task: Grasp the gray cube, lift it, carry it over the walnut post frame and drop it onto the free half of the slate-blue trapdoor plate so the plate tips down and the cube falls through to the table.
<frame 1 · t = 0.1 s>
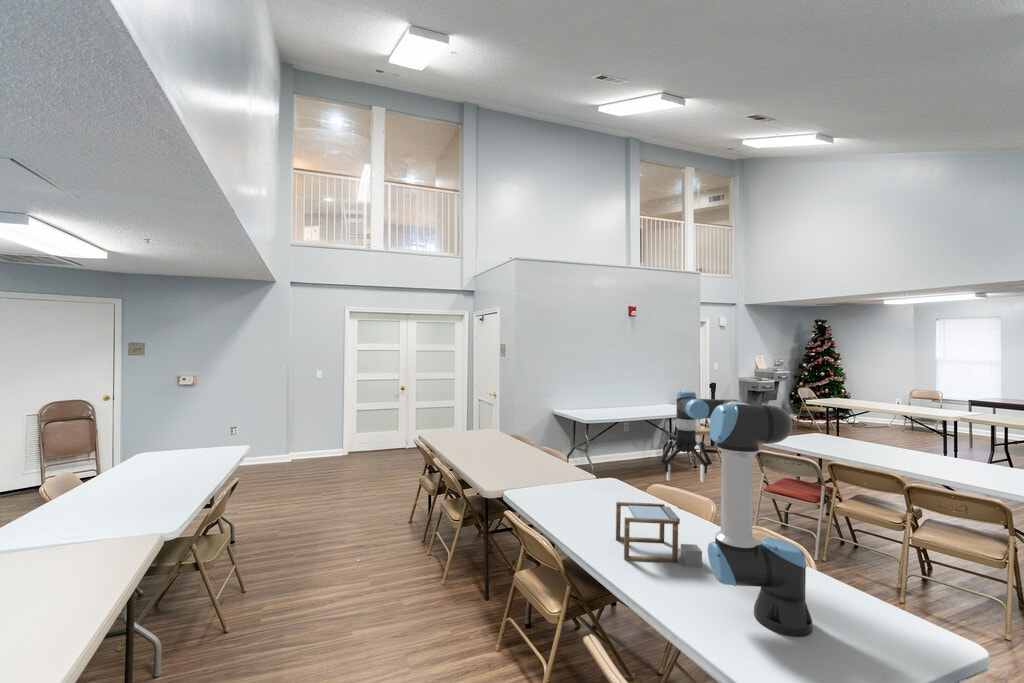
hand: (685, 480, 187), 28 cm above the table, fingers open, 13 cm apart
gray cube: (691, 563, 174), on the table
frame: (644, 550, 184), on the table
plate: (653, 514, 185), point 14 cm above the table, hinge at -0.1°
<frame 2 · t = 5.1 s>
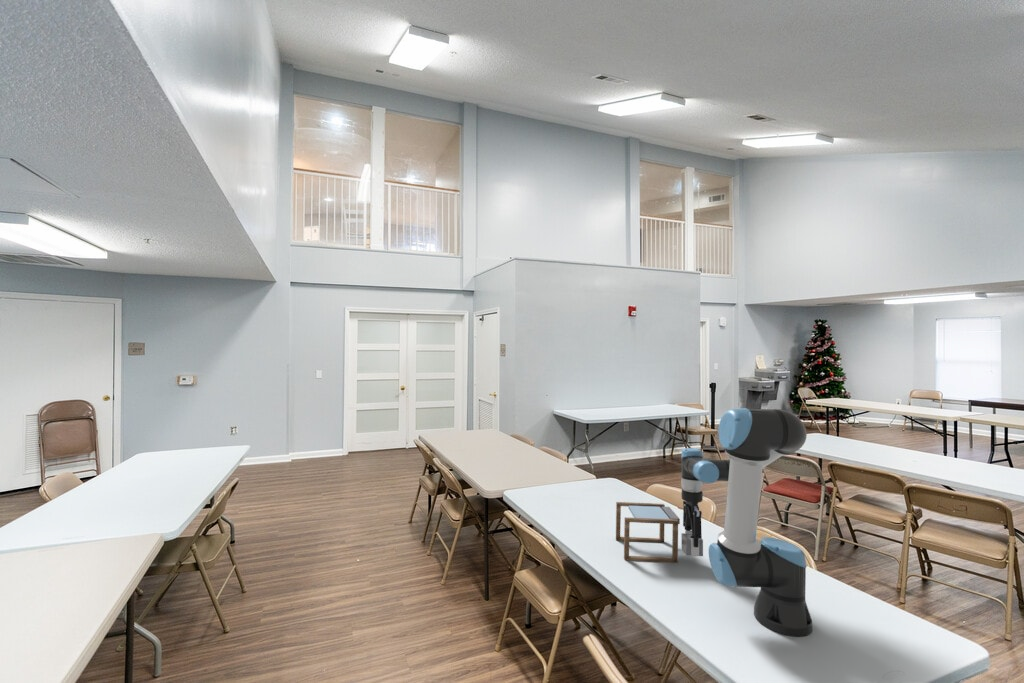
hand: (692, 551, 173), 5 cm above the table, fingers closed on gray cube, 6 cm apart
gray cube: (692, 552, 173), point 4 cm above the table, touching gripper
everything else where it was.
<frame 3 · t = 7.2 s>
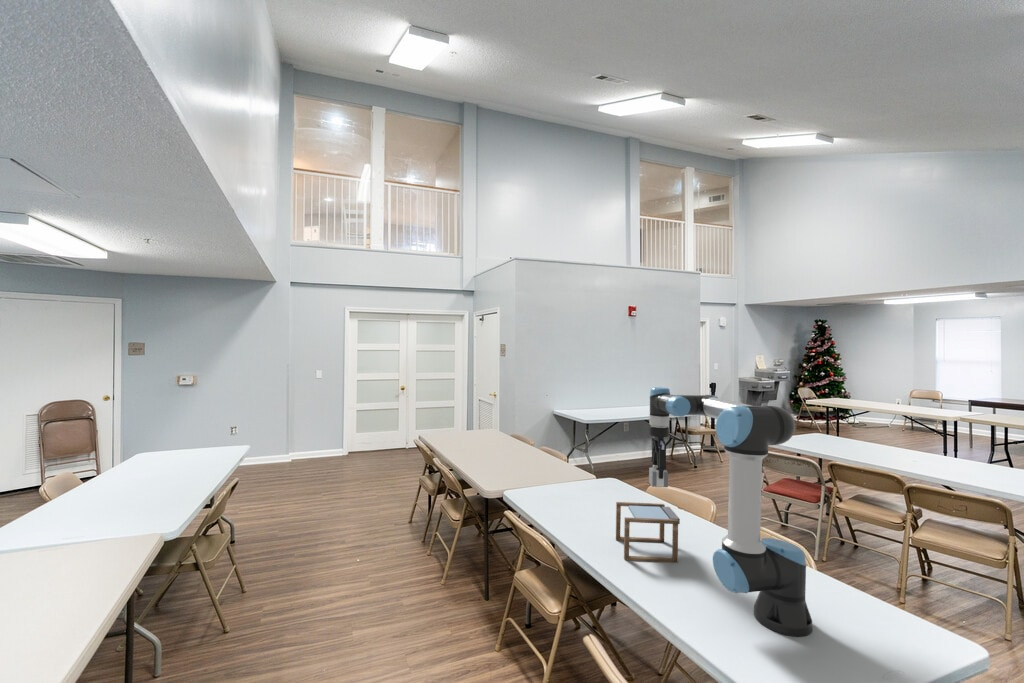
hand: (658, 483, 182), 28 cm above the table, fingers closed on gray cube, 6 cm apart
gray cube: (658, 484, 182), point 27 cm above the table, touching gripper
everything else where it was.
when the fingers open (16 cm above the table, at t = 9.5 s): gray cube drops 13 cm and tips over, point 3 cm above the table.
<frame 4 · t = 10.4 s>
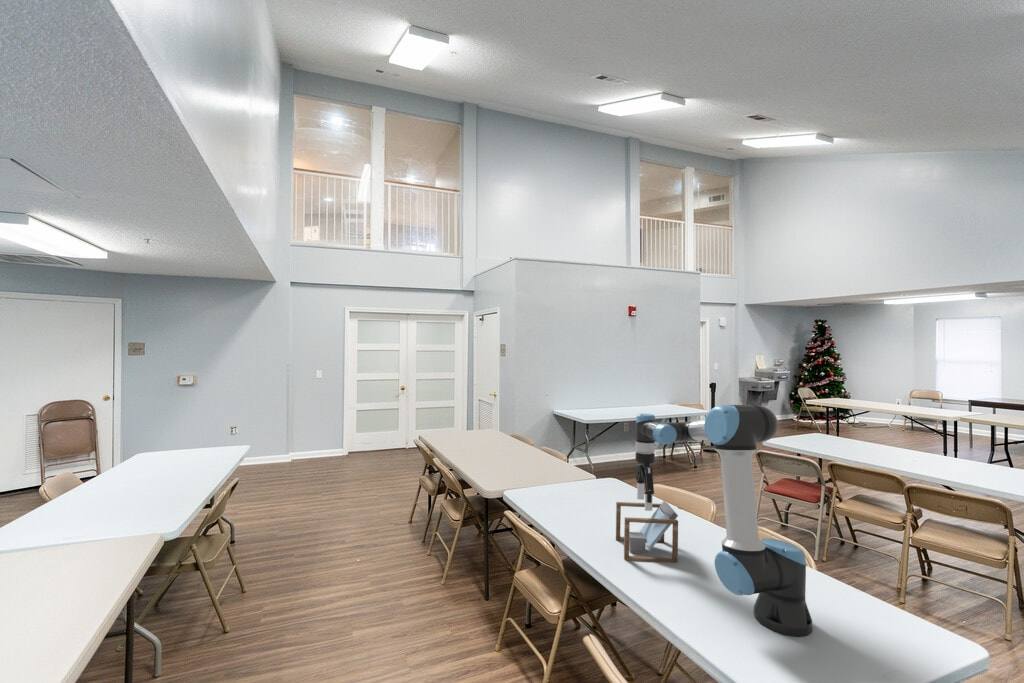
hand: (644, 504, 185), 18 cm above the table, fingers open, 13 cm apart
gray cube: (643, 542, 184), point 3 cm above the table, tilted 90°
plate: (657, 523, 184), point 11 cm above the table, hinge at -52.5°
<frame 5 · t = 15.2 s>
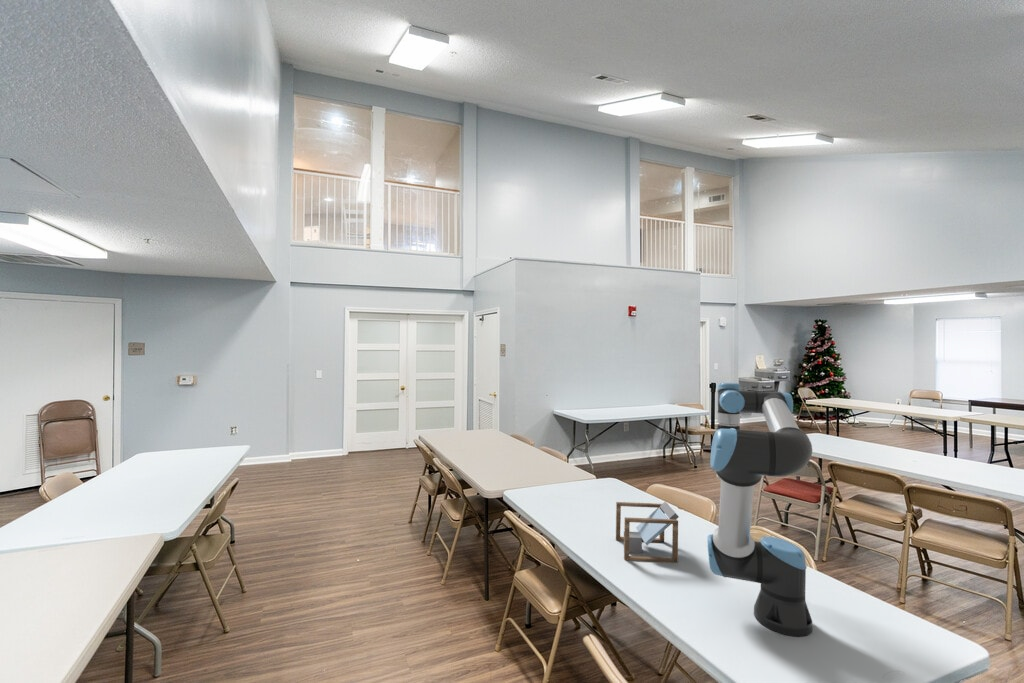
hand: (728, 482, 168), 33 cm above the table, fingers open, 13 cm apart
gray cube: (640, 542, 184), point 3 cm above the table, tilted 90°, touching plate
plate: (656, 522, 184), point 11 cm above the table, hinge at -43.5°, touching gray cube
at the end: gray cube point 3.0 cm above the table; gray cube inside the target area (8.5 cm from its centre), point 3.0 cm above the table; the gripper is holding nothing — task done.
